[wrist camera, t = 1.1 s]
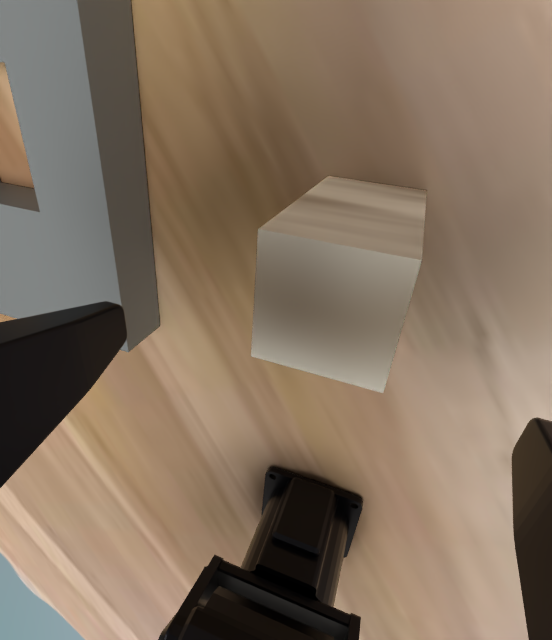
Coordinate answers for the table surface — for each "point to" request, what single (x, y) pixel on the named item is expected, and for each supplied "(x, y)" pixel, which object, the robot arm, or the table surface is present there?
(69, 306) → the socket block
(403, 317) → the cream peg
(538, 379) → the table surface
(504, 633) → the table surface
